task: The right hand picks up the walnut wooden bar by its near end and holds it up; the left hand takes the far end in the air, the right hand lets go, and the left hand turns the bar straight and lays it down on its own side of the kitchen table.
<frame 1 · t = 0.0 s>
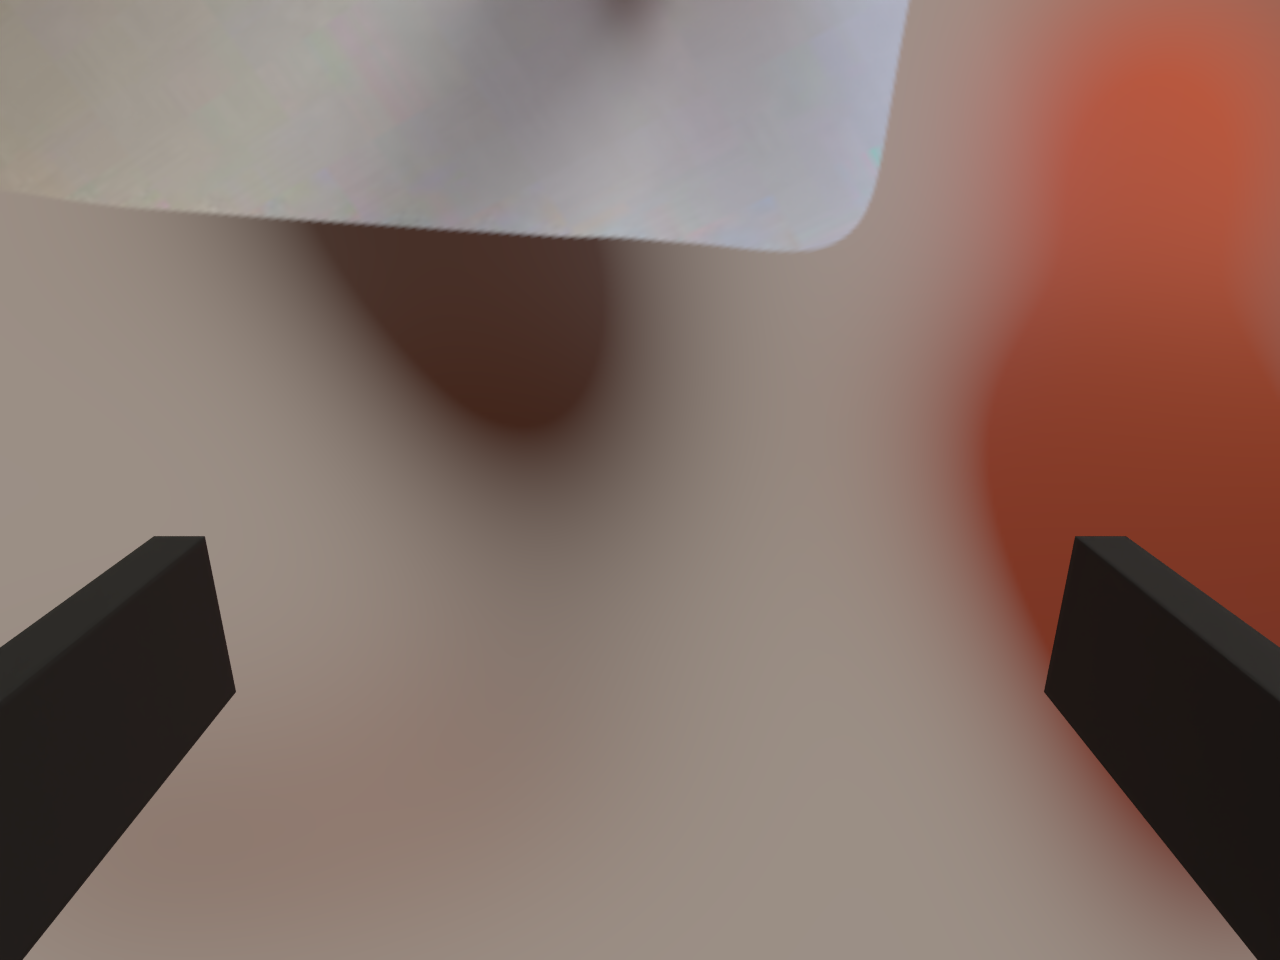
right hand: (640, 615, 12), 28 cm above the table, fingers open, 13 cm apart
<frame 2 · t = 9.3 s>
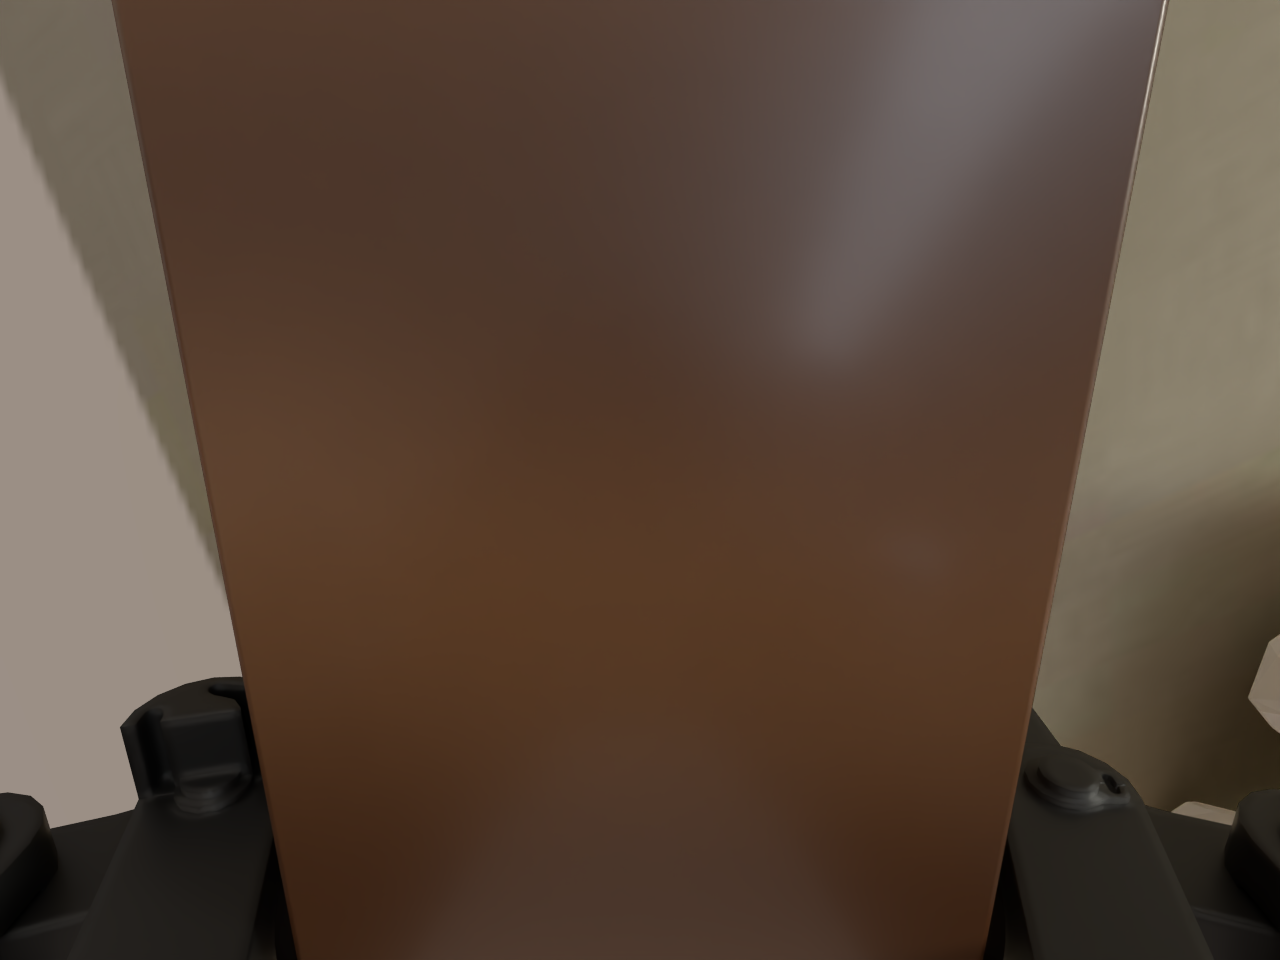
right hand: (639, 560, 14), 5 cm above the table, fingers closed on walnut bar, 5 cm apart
walnut bar: (640, 65, 12), point 4 cm above the table, touching right hand
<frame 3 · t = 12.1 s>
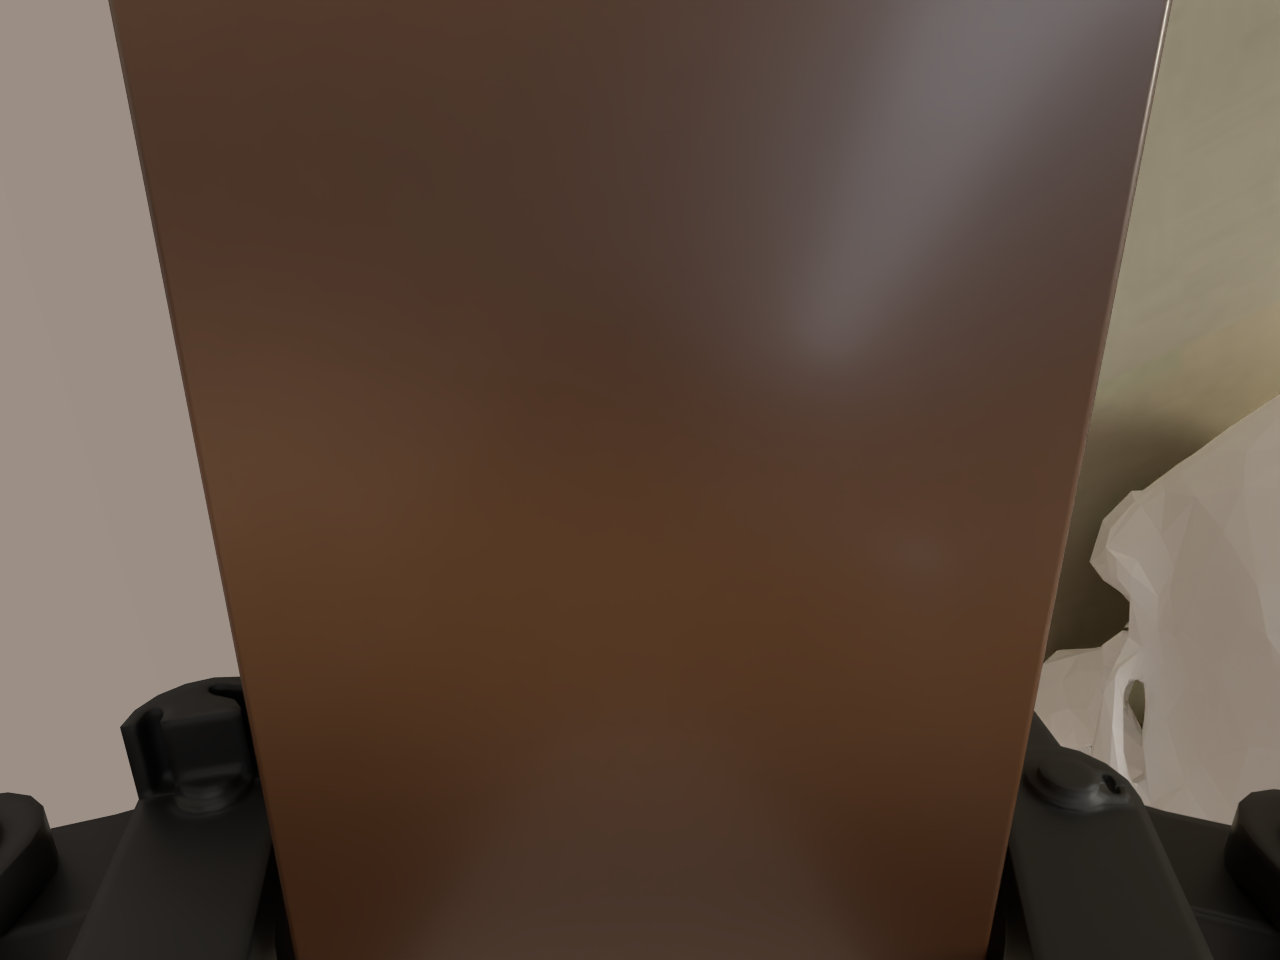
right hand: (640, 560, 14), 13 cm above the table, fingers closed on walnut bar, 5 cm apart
skull: (1196, 598, 29), on the table
walnut bar: (640, 64, 12), point 12 cm above the table, touching right hand
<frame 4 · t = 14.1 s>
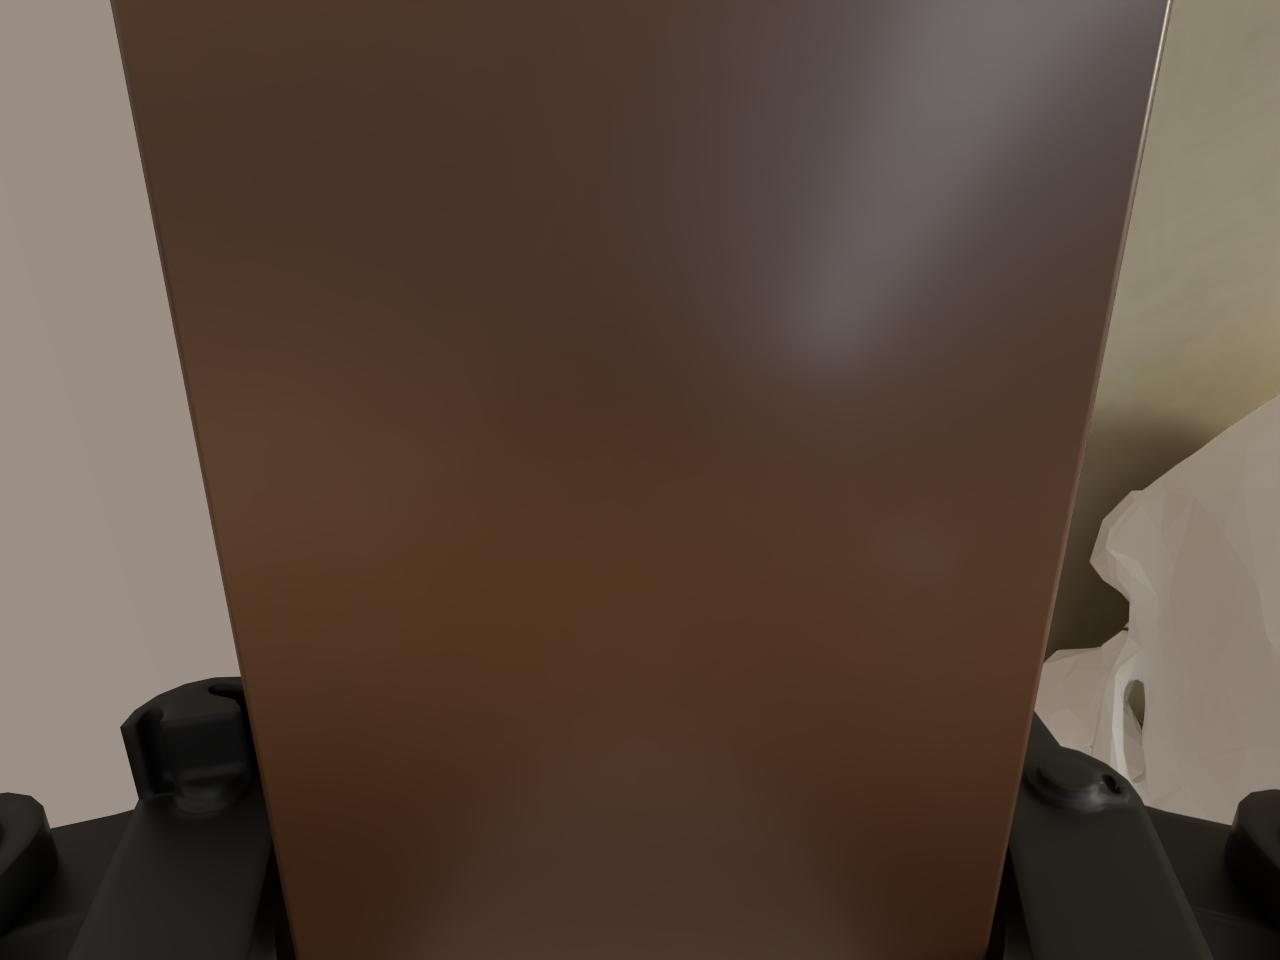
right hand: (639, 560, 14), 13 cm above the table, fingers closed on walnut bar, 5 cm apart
skull: (1195, 598, 29), on the table
walnut bar: (640, 64, 12), point 12 cm above the table, touching right hand, left hand
when the right hand's fingers open (13 cm above the table, at t = 15.0 s): walnut bar stays where it is, held by the left hand.
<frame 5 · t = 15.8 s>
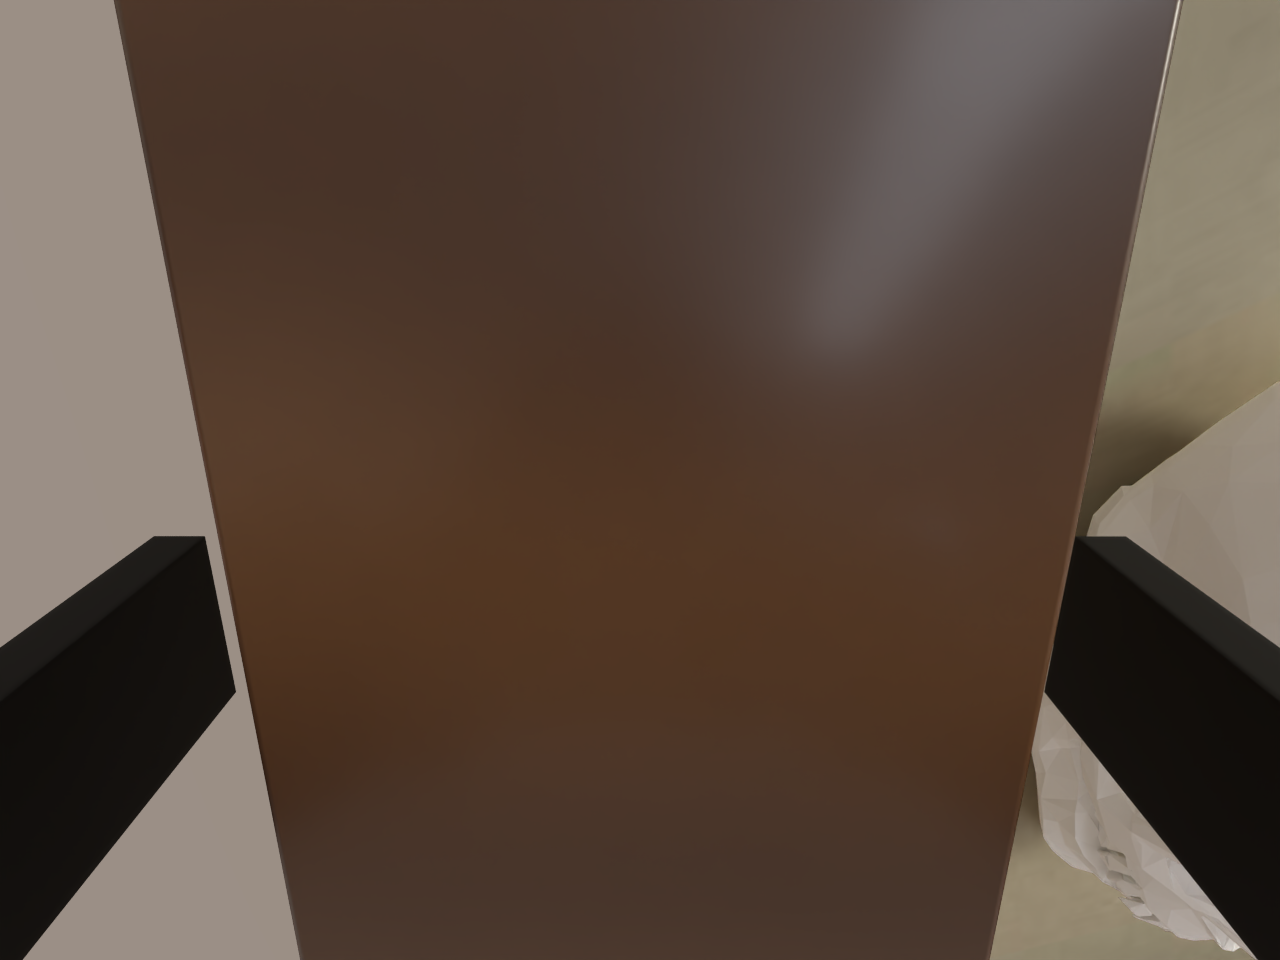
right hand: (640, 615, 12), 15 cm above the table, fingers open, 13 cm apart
skull: (1186, 593, 29), on the table
walnut bar: (645, 52, 12), point 13 cm above the table, touching left hand
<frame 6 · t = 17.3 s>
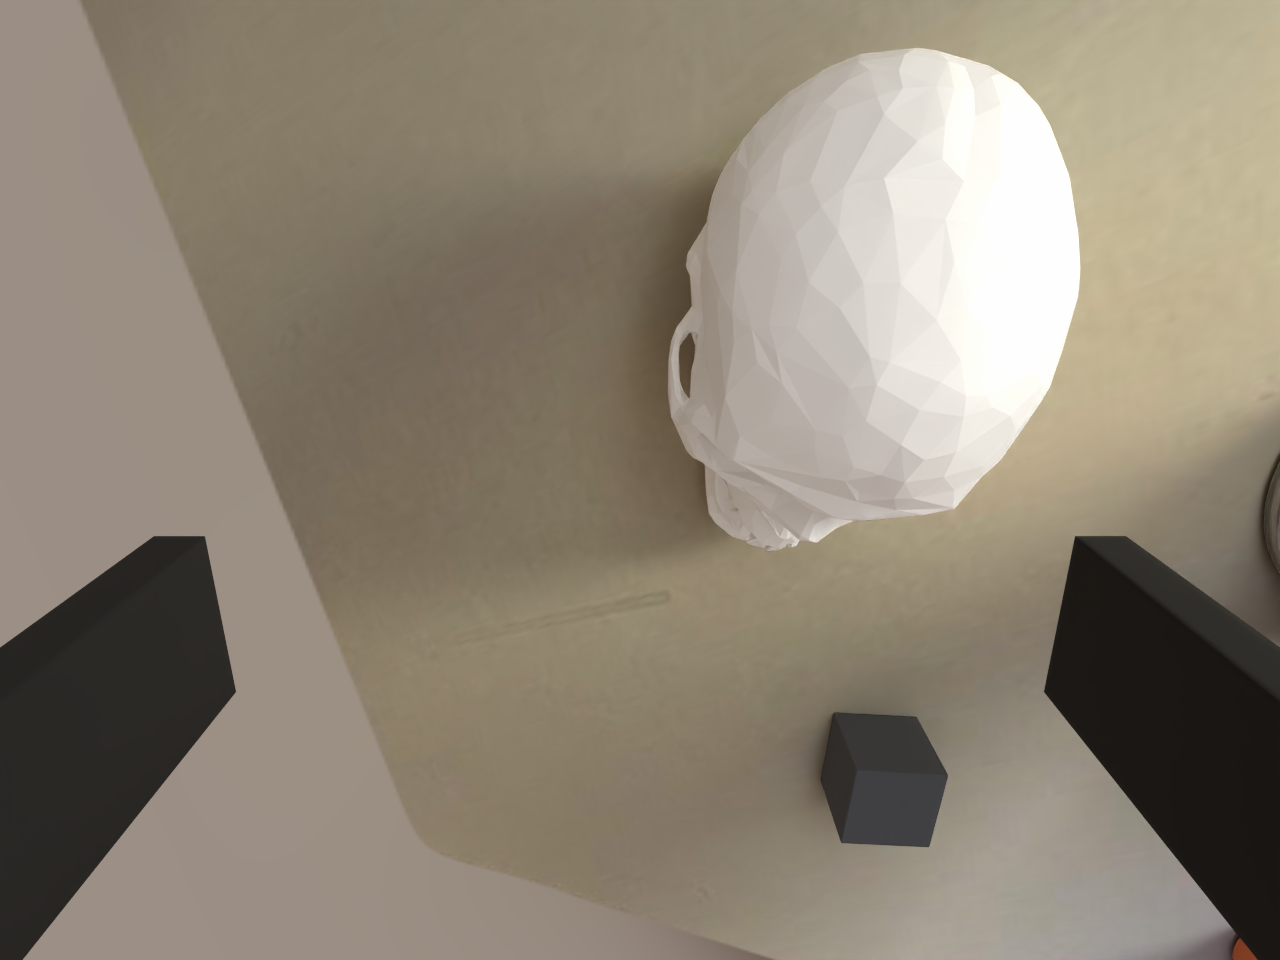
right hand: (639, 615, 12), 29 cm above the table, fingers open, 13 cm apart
skull: (801, 323, 40), on the table
cup with straw: (1274, 943, 55), on the table
grey rubber block: (867, 749, 49), on the table
when the left hand's fingers open (1 cm above the table, at t = 20.4 s): walnut bar stays where it is, on the table.
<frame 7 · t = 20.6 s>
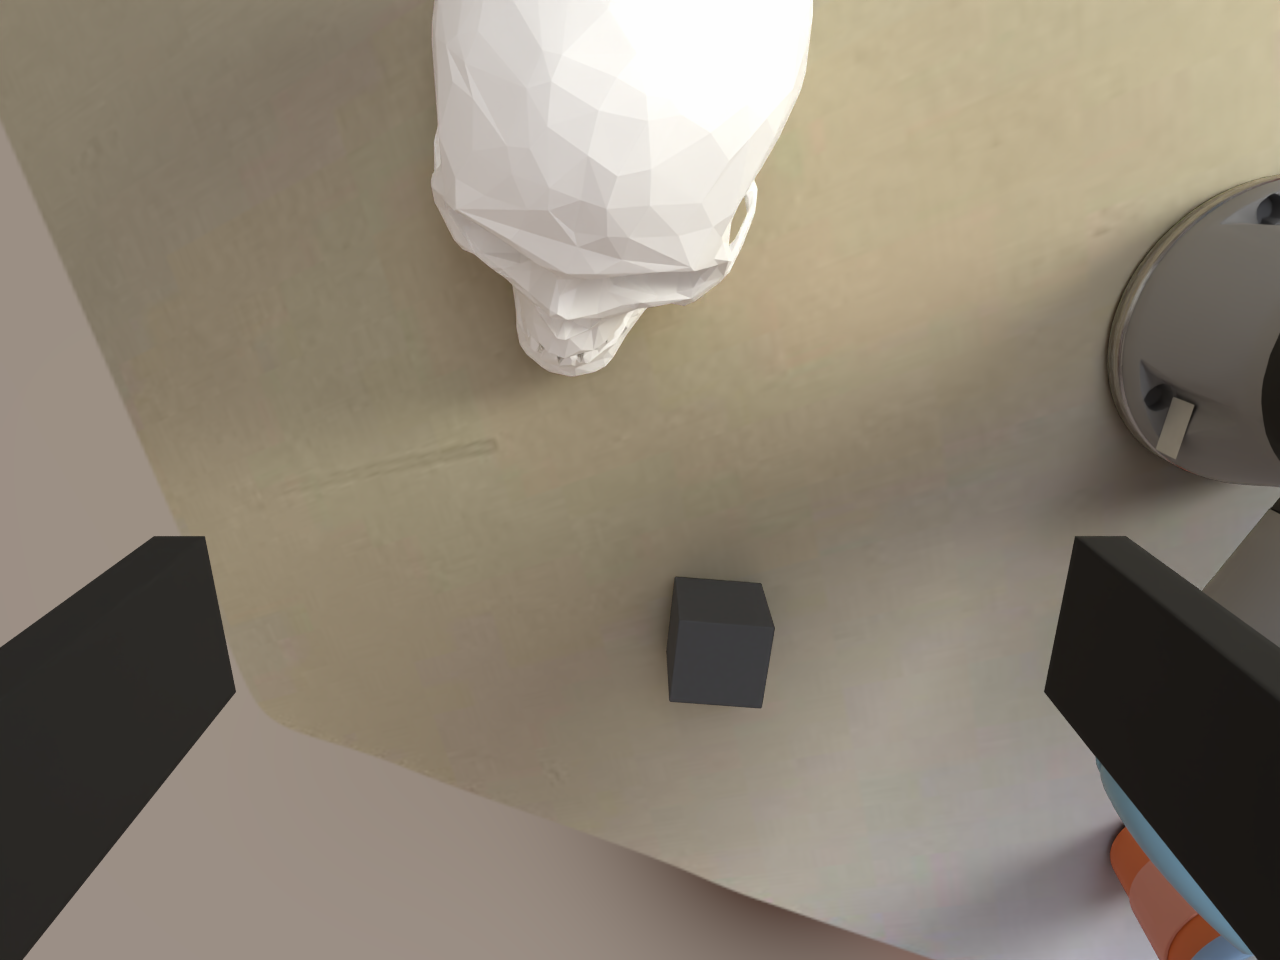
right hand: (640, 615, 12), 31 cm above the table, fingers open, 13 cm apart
skull: (611, 144, 39), on the table
cup with straw: (1154, 844, 53), on the table
grey rubber block: (713, 617, 47), on the table
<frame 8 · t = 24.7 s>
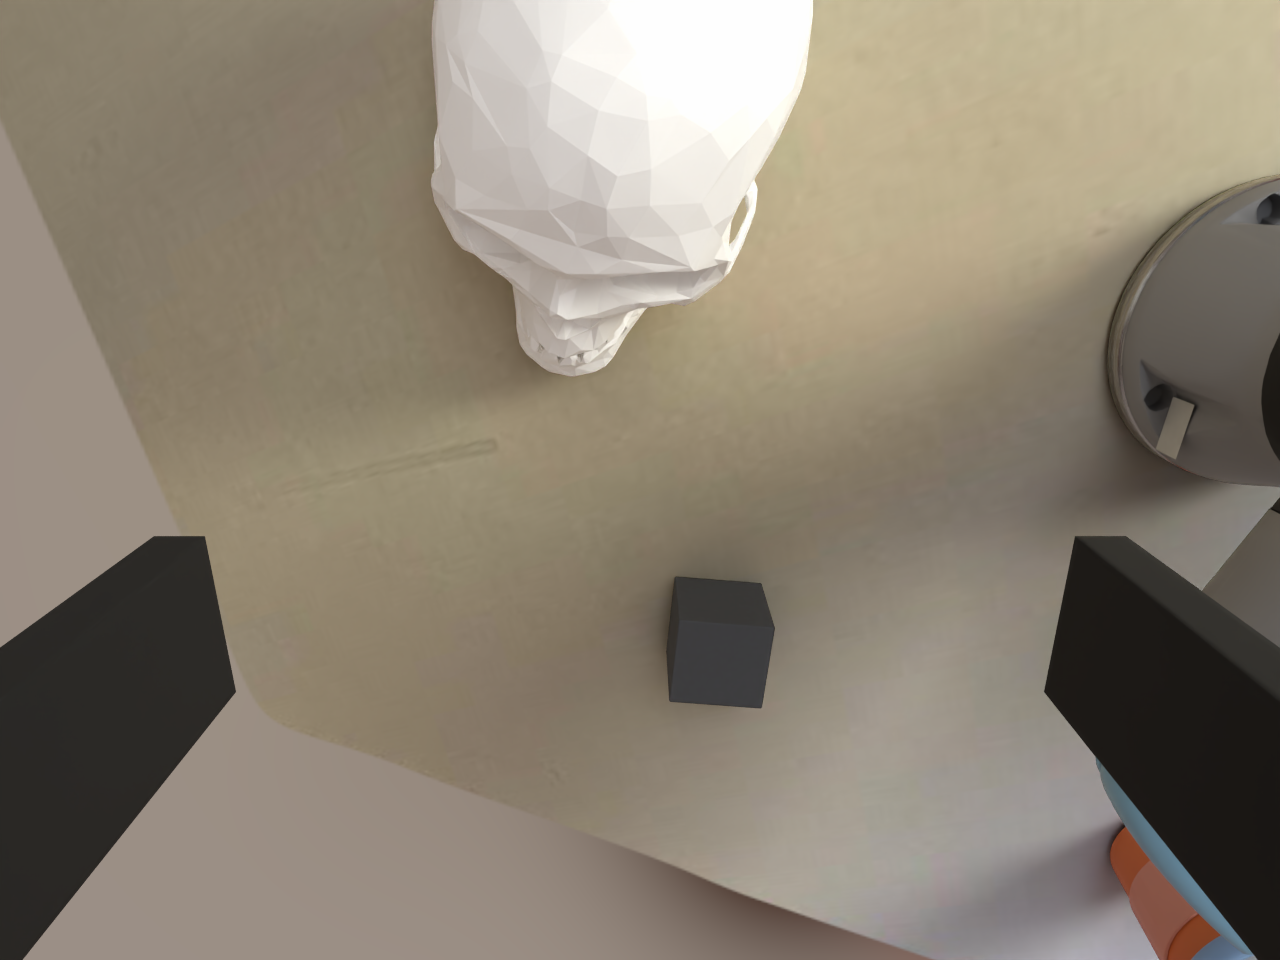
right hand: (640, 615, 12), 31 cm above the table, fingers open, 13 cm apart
skull: (611, 144, 39), on the table
cup with straw: (1154, 844, 53), on the table
grey rubber block: (713, 617, 47), on the table
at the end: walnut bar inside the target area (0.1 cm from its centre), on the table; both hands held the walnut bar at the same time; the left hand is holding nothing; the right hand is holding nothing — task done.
